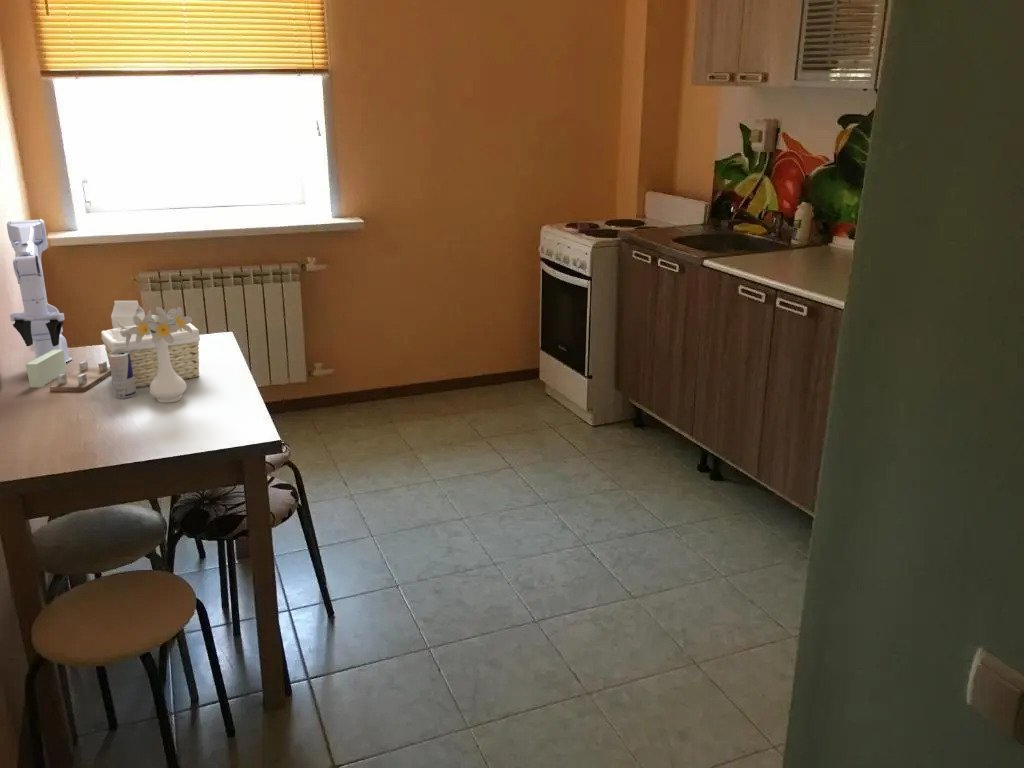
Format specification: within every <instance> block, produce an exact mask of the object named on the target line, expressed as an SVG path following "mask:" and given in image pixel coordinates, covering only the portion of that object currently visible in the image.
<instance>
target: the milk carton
mask: <svg viewBox="0 0 1024 768" xmlns="http://www.w3.org/2000/svg"><path fill="white" fill-rule="evenodd" d="M138 301H139V300H113V302H114V303H113V304H114V305H113V309H112V312H111V315H110V318H111V323H112V329H115V328H121V327H120V326H119V325H118V323H117V321H118V322H119V323H120V324H122V325H123V326H124V327H128V326H136V325H135V323H134V321H133V317H134V316H135V315H136V316H138V317H139V318H140V319H141V321H142V320H143V319H144V317H145V316H146V314H145V313H146V312H145V310H144V308H142V307H141V306H140V305H139V302H138Z"/></svg>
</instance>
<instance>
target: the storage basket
mask: <svg viewBox="0 0 1024 768" xmlns="http://www.w3.org/2000/svg"><path fill="white" fill-rule="evenodd" d="M186 325H188V326H189V327H190V328H191V329H192V331H193V333H190V332H188V331H186V330H185V329H183V330H182V331H180V330H178V331H176V332H173V333H170V334H171V335H172V337H173V340H174V342H173V343H172V344H169V343H168V350H169V356H170V361H171V365H172V368H173V369H174V371H175V373H176V374H177V375H178V376H180V377H181V378H182V379H183V380H188V378H189V379H191V378H197V377H199V376H200V368H199V367H200V358H199V356H200V354H199V353H200V352H199V349H200V347H199V345H200V341H201V339H200V332H199V331H200V330H199V329H198V328H197V327H195V325H194V324H192V322H191V323H189V324H186ZM132 327H138V326H128V327H126V328H127V329H130V328H132ZM120 330H122V329H121V328H115V329H113V328H111V329H107V330H104V329H103V330H102V331H101V332H100V334H101V340H102V342H103V345H104V346H105V348H104V349H105V352H106V356H107V359H108V362H109V354H111V353H114V352H120V351H126V352H129V355H130V358H131V364H132V371H133V377H134V383H135V389H137V388H142V387H150V384H151V382H152V381H153V379H154V378H155V377H156V375H157V371H158V359H157V350H156V345H155V343H153V342H152V335H151V333H150V335H144V336H143V338H142V340H141V341H140V342H139V343H136V336H137V335H136V334H134V335H131V338H130V341H129V346H128V348H127V345H126V337H123V336H122V335H121V333H120ZM108 364H109V363H108ZM109 366H110V364H109Z"/></svg>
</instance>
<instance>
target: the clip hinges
mask: <svg viewBox="0 0 1024 768" xmlns="http://www.w3.org/2000/svg"><path fill="white" fill-rule="evenodd" d="M107 363H108V362H107V361H106V360H102V361H100V362H98V364H97V366H98V367H99V371H100V372H104V371H106V370H107V369H108V368H107V367H108V364H107ZM78 366H79V367H78V368H79V369H80V372H84V371H86V370H88V367H89V364H88V361H87V360H82V361H81V362H79V363H78ZM77 378H78V383H79V385H84V384H85V383H87V377H86V374H81V375H79V376H77ZM56 379H57V382H58V384H59V385H63V384H65V383H67V373H64V374H60V375H58V376H57V378H56Z"/></svg>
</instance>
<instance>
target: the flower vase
mask: <svg viewBox="0 0 1024 768" xmlns="http://www.w3.org/2000/svg"><path fill="white" fill-rule="evenodd" d="M155 310H156V313H157V314H158V315H156V314H152V310H151V309H149V310H148V311H147V315H145V317H144V319H143V320H142V321H141V319H140V318H139V317H138V316H136V315H135V316H134V317H133V321H134V323H135V325H136V326H138V327H132V328H130V329H127V328H126V327H124V326H123V325H122V324H120V323H119V322H118V321H117V323H118V325H119V326H120V327H121V329H122V330H120V333H121V335H122V336H123V337H126V345H127V348H128V346H129V341H130V338H131V335H134V334H136V335H137V336H136V343H139V342H140V341H141V340H142V338H143V336H144V335H150V333H151V335H152V342H153V343H155V345H156V350H157V359H158V371H157V375H156V377H155V378H154V379H153V381H152V382H151V384H150V386H148V387H149V392H150V395H152V396H153V397H154V398H156V399H157V402H159V403H161V404H169V403H174V402H178V401H180V400H181V399H182V397H183V394H185V391H186V390H187V383H186V381H185V379H182V378H181V377H180V376H178V375H177V374H176V373H175V371H174V369H173V368H172V365H171V361H170V356H169V350H168V343H169V344H172V343H173V342H174V340H173V337H172V335H171V334H170V333H173V332H176V331H178V330H180V331H182V330H183V329H185V330H186V331H188V332H190V333H193V331H192V329H191V328H190V327H189V326H188V325H186V324H189V323H191V324H192V322H193V318H192V317H191V316H189V315H187V316H184V312H183V309H182V308H181V307H180V306H178V307H177V308H176V307H173V308H170V309H169V310H168V311H167V313H166V310H165V309H163V308H162V307H160V306H156V309H155Z"/></svg>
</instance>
